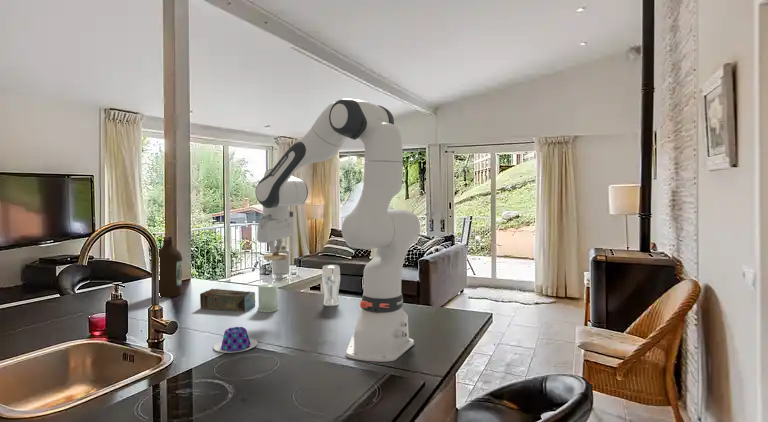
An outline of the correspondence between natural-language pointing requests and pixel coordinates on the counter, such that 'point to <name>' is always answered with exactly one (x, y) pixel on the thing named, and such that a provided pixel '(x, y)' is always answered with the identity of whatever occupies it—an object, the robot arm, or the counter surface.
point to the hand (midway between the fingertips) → (275, 251)
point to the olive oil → (170, 270)
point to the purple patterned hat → (235, 341)
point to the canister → (268, 298)
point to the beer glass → (331, 284)
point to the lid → (275, 255)
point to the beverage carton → (227, 300)
